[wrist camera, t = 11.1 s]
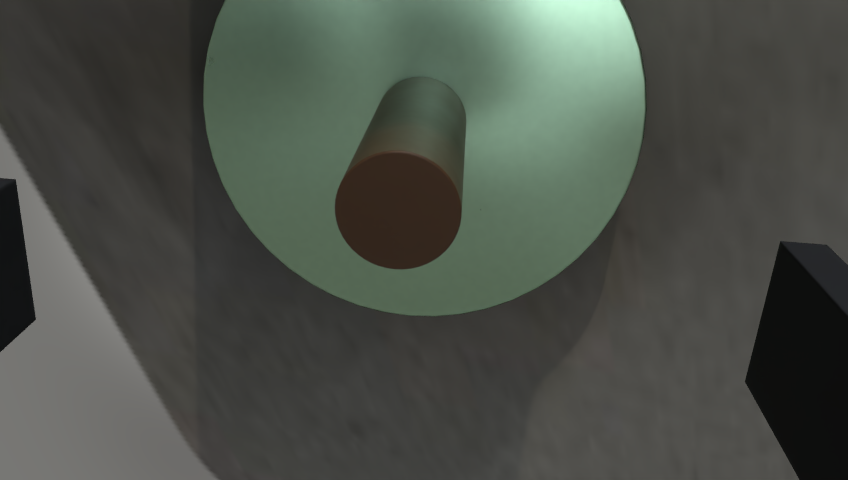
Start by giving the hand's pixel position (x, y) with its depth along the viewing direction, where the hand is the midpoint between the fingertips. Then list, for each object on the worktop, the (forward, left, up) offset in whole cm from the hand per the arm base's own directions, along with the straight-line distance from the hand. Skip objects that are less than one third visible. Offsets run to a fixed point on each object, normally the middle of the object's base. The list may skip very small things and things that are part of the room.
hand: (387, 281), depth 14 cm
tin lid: (0, 0, -12) cm, 12 cm away
